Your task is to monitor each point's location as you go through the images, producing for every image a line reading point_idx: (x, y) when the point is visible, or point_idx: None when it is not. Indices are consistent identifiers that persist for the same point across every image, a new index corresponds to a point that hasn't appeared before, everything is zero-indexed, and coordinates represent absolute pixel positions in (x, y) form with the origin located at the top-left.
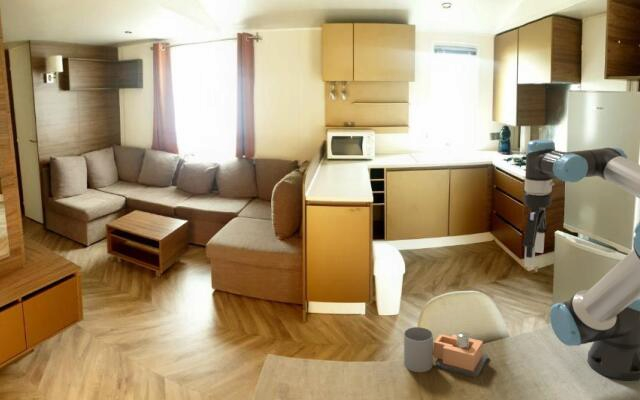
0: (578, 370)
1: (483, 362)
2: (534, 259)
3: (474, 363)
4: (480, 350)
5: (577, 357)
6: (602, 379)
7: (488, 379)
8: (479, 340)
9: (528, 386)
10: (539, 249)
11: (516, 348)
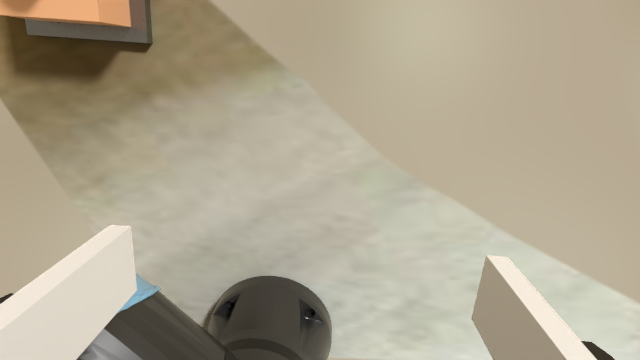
0: (211, 259)
1: (99, 38)
2: (95, 333)
3: (37, 19)
4: (89, 22)
5: (271, 255)
6: (200, 302)
7: (50, 68)
8: (97, 9)
9: (81, 165)
10: (488, 313)
11: (246, 110)
